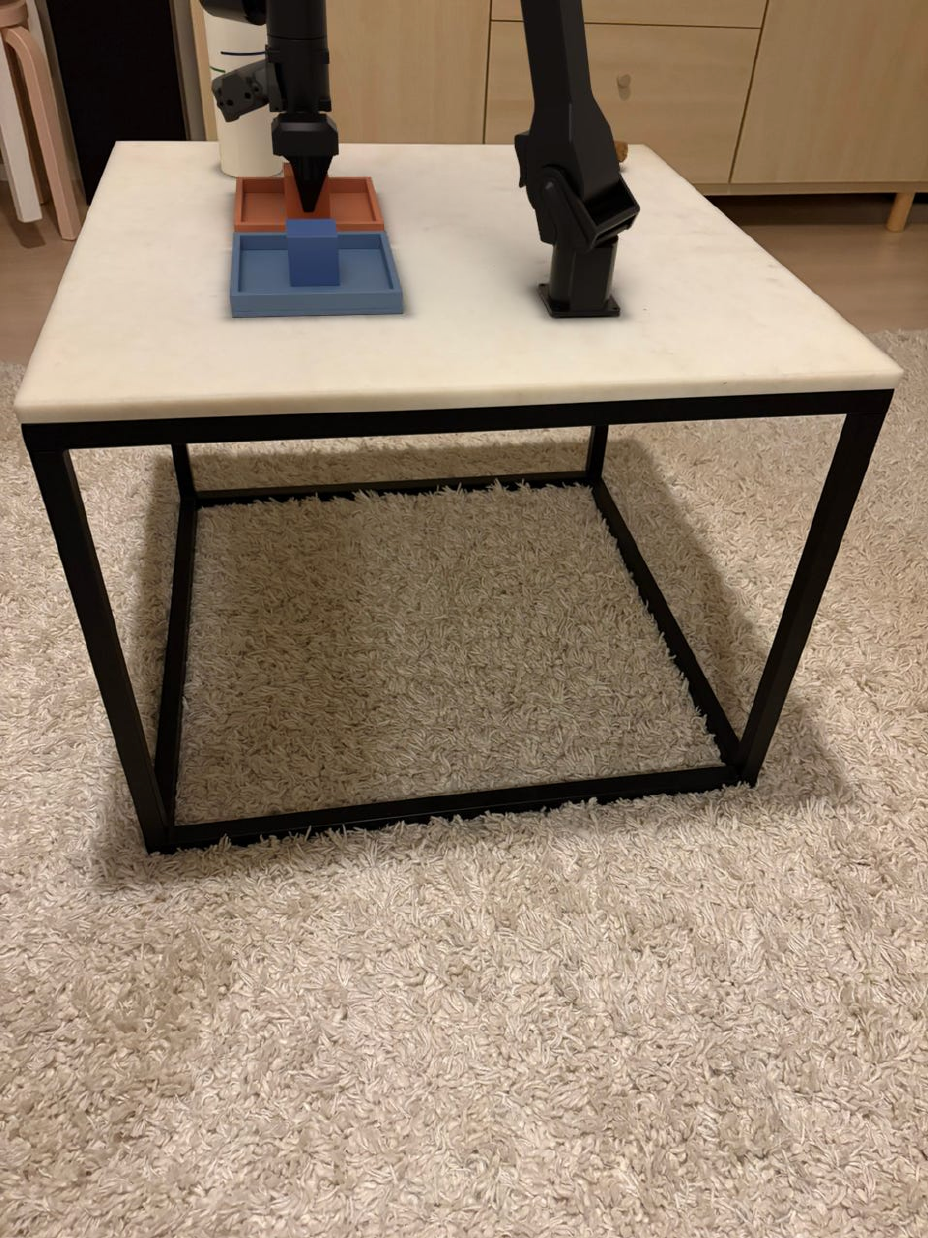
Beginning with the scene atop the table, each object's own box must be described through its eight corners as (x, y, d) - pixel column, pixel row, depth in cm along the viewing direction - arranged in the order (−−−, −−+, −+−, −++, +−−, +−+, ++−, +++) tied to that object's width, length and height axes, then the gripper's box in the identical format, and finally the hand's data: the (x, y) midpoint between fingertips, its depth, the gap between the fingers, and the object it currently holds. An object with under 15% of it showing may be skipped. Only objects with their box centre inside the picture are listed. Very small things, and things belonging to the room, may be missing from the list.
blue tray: (402, 313, 84) (402, 291, 83) (232, 317, 82) (229, 294, 80) (386, 250, 95) (386, 230, 94) (235, 252, 93) (233, 232, 91)
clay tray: (384, 243, 96) (384, 223, 95) (235, 244, 94) (233, 224, 93) (371, 194, 107) (371, 176, 106) (238, 195, 105) (236, 176, 104)
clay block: (330, 220, 99) (328, 175, 96) (287, 221, 98) (283, 175, 95) (328, 206, 102) (326, 162, 99) (286, 206, 102) (283, 162, 99)
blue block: (339, 285, 87) (337, 236, 84) (290, 286, 86) (286, 236, 83) (336, 266, 90) (334, 218, 87) (289, 267, 89) (285, 218, 86)
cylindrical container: (270, 180, 109) (247, -87, 93) (211, 174, 110) (179, -93, 93) (290, 163, 115) (272, -93, 98) (235, 156, 115) (208, -99, 99)
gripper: (213, 12, 95) (231, 176, 105) (206, 53, 81) (227, 236, 92) (324, 15, 97) (331, 175, 107) (335, 56, 83) (342, 235, 93)
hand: (307, 203), depth 100 cm, fingers closed on clay block, 4 cm apart
